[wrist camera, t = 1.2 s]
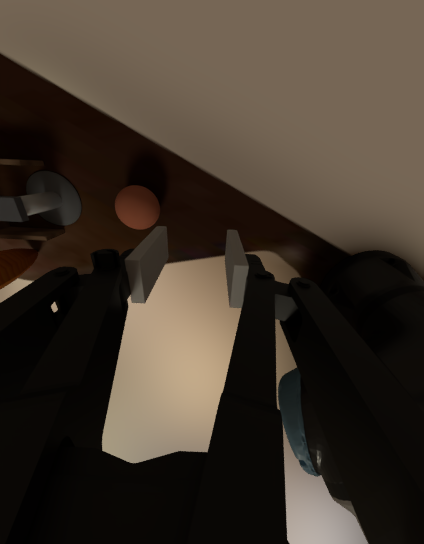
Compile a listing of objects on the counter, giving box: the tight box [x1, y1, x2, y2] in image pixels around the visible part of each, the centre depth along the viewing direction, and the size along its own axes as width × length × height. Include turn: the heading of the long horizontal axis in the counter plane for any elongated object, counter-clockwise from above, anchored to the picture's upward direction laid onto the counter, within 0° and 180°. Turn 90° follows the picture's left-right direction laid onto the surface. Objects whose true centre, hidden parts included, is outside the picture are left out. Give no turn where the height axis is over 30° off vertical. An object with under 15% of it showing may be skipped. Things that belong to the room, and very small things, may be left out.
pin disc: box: [26, 171, 81, 225], centre depth 31 cm, size 8×8×1 cm
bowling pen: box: [0, 158, 65, 241], centre depth 28 cm, size 10×11×6 cm
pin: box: [0, 192, 62, 222], centre depth 28 cm, size 3×3×8 cm
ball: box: [115, 185, 160, 229], centre depth 29 cm, size 6×6×6 cm
